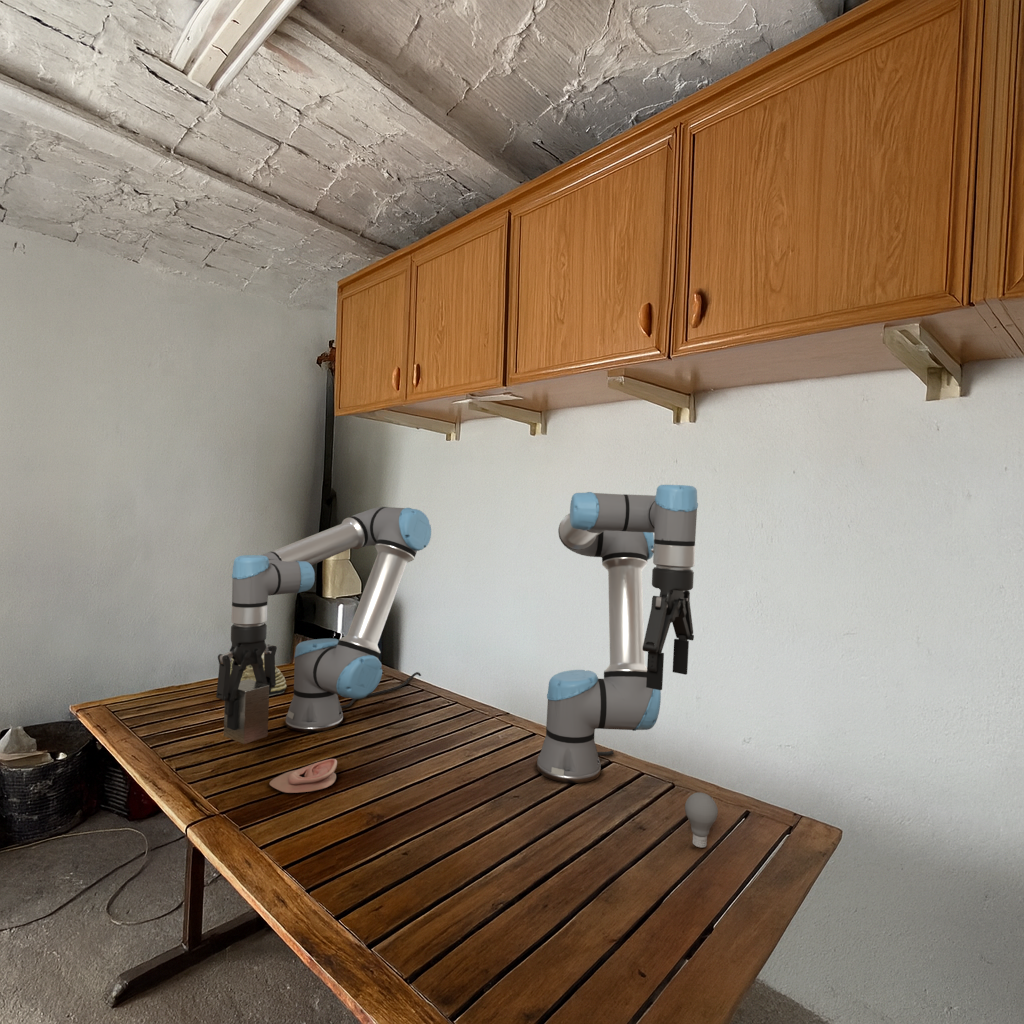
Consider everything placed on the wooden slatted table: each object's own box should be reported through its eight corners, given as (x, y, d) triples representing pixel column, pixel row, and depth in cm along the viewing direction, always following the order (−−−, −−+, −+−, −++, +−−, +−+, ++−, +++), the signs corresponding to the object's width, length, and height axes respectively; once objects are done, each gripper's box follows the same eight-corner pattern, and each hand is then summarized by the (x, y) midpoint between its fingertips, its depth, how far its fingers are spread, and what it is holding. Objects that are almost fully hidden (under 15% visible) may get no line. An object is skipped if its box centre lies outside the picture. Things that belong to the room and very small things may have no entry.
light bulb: (678, 837, 123) (681, 786, 123) (708, 837, 124) (711, 787, 124) (689, 855, 117) (692, 801, 117) (721, 854, 118) (723, 801, 118)
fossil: (218, 695, 195) (220, 647, 195) (278, 685, 208) (279, 640, 207) (228, 703, 189) (230, 653, 188) (289, 692, 201) (290, 645, 201)
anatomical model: (261, 770, 135) (291, 750, 147) (261, 789, 136) (290, 767, 147) (318, 779, 133) (344, 757, 144) (318, 797, 133) (343, 775, 144)
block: (247, 728, 149) (249, 678, 149) (267, 736, 145) (269, 685, 145) (223, 736, 144) (225, 684, 144) (243, 744, 140) (245, 691, 140)
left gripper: (274, 615, 154) (271, 709, 155) (199, 627, 138) (196, 732, 139) (294, 620, 150) (291, 716, 151) (219, 632, 134) (216, 740, 134)
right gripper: (676, 561, 131) (671, 664, 131) (627, 569, 110) (621, 691, 110) (712, 565, 127) (707, 670, 127) (669, 574, 106) (663, 700, 106)
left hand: (246, 724), depth 145 cm, fingers closed on block, 6 cm apart
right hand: (667, 680), depth 119 cm, fingers open, 13 cm apart
